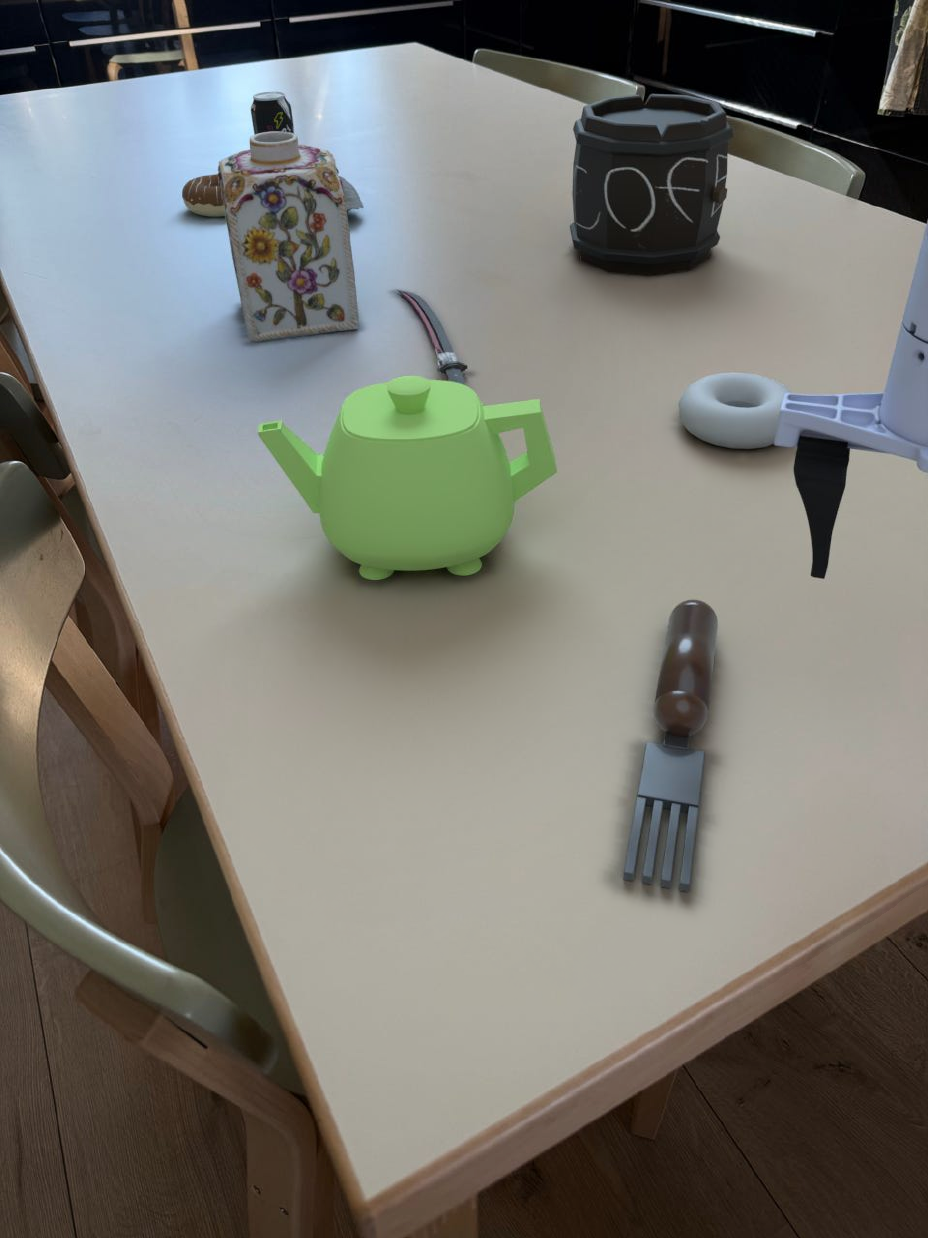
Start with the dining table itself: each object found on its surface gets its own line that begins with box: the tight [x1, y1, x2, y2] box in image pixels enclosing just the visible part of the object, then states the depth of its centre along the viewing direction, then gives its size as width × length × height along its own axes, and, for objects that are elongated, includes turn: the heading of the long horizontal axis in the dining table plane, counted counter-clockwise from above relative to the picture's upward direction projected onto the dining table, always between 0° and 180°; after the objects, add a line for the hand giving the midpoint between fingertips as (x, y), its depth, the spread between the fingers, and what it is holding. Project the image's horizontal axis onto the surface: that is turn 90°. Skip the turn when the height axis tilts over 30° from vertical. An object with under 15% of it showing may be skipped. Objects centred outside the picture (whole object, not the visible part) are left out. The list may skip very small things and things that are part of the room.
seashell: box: [338, 175, 364, 212], centre depth 132 cm, size 12×8×5 cm
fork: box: [622, 599, 719, 893], centre depth 55 cm, size 20×3×3 cm, turn 165°
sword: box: [396, 289, 468, 386], centre depth 99 cm, size 31×3×1 cm, turn 13°
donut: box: [678, 371, 793, 450], centre depth 83 cm, size 10×4×10 cm
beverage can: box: [250, 91, 296, 135], centre depth 143 cm, size 6×6×12 cm
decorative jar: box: [217, 131, 360, 343], centre depth 100 cm, size 12×12×18 cm
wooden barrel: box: [569, 93, 734, 277], centre depth 113 cm, size 18×18×16 cm
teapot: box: [257, 375, 558, 581], centre depth 68 cm, size 20×13×13 cm
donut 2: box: [181, 173, 225, 217], centre depth 136 cm, size 11×11×4 cm
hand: (895, 580), depth 51 cm, fingers open, 7 cm apart
